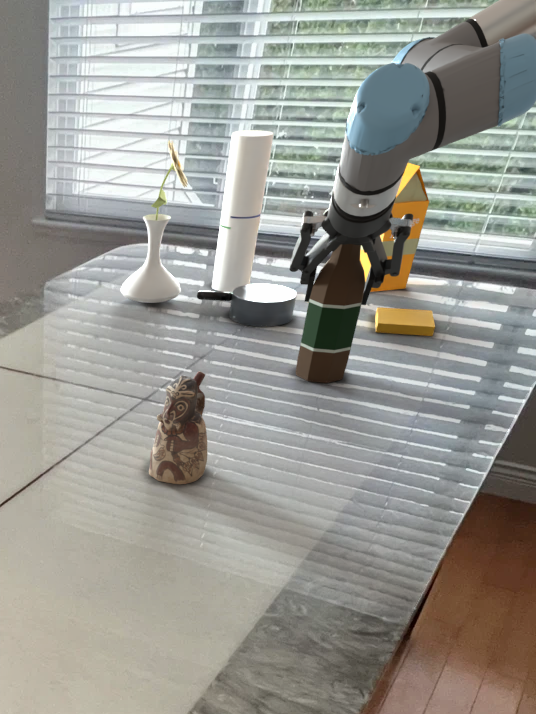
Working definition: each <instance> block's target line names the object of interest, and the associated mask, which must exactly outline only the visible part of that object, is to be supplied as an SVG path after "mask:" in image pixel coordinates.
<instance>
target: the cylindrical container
mask: <svg viewBox="0 0 536 714" xmlns="http://www.w3.org/2000/svg"><path fill="white" fill-rule="evenodd" d="M274 134H275V133H274V132H273V131H269V130H260V129H245V130H236V131H233V132H232V133H231V139H230V146H229V152H228V153H229V154H228V162H227V169H226V175H225V184H224V192H223V200H222V205H221V206H222V207H221V214H220V221H219V231H218V235H217V236H218V237H217V245H216V253H215V258H214V267H213V273H212V274H213V275H212V283H211V288H212V289H213V290H215V291H216V292H230V293H232V292H233V290H234V289H235V288H237V287H240V286H244V285H250V284H251V277H252V271H253V265H254V259H255V253H256V246H257V242H258V241H257V240H258V236H259V235H258V234H259V228H260V223H261V221H260V220H261V214H262V208H263V203H264V196H265V190H266V185H267V178H268V171H269V167H270V165H269V164H270V159H271V153H272V147H273V140H274Z"/></svg>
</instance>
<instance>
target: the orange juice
mask: <svg viewBox="0 0 536 714" xmlns="http://www.w3.org/2000/svg"><path fill="white" fill-rule="evenodd" d="M429 204H430V200H429V196H428V193H427V190H426V186H425V182H424V179H423V175H422V171H421V166H420V165H417V164H413V163H411V162H408V164H407V166H406V169H405V172H404V174H403V177H402V180H401V183H400V186H399V189H398V192H397V195H396V199H395V202H394V205H393V208H392V211H391V213H392V215H393V217H394V218H400V219H402V218H403V216H404V215H406V214H412V215H413V222H412V227H411V232H410V236H409V237H408V238H407V240H406V241H405V243H404V251H403V257H402V263H401V268H400V273H399V275H398V276H395V277H393V276H391V275H390V274H387V275H385V276H384V281H383V283H381V286H380V287H379V288H371V291H370V293H373V292H384V291H395V290H404V289H407V284H408V281H409V278H410V274H411V271H412V270H411V269H412V266H413V263H414V260H415V256H416V253H417V250H418V245H419V242H420V237H421V233H422V230H423V227H424V223H425V220H426V216H427V212H428V208H429ZM391 232H392V231H391V230H390V229H389V230H388V231H387V232H385V233H383V234H382V235H380V237H381V240H382V243H383V246H384V249H385V252H386V256H387V259H392V253H393V245H394V239H393V235H392V234H391ZM360 261H361V264H362V267H363V269H364V273H365V282H366V279H367V276H368V273H369V270H370V267H371V264H370V261H369V258H368V256H367V253H364V250H363V247H362V245H361V251H360Z"/></svg>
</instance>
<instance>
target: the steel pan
mask: <svg viewBox="0 0 536 714" xmlns="http://www.w3.org/2000/svg"><path fill="white" fill-rule="evenodd" d="M297 294H298V293H297V291H296V290H295V289H292V288H290V287H287V286H284V285H280V284H279V285H278V284H272V283H250V285H244V286H240V287H237V288H235V289H234V290H233V292H232V293H231V292H221V291H211V290H199V291H197V293H196V298H197V299H198V300H201V301H216V302H217V301H218V302H230V305H229V306H230V307H229V313H228V317H229V319H230V320H231V321H233V322H235V323H237V324H239V325H240V324H241V325H245V326H251V327H259V328H260V327H263V328H265V327H278V326H282V325H286V324H288V323H290V322H291V321H292V319H293V316H294V310H295V306H296V299H297Z"/></svg>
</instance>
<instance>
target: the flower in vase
mask: <svg viewBox="0 0 536 714" xmlns="http://www.w3.org/2000/svg"><path fill="white" fill-rule="evenodd" d="M167 148H168V152H169V155H170V159H171V164H170V167H169V168H168V171H167V172H166V174H165V177H164V178H163V181H162V183H161V185H160V188H159V192H158V198H157V199H156V200H155V201H154V202H153V203H152V204H151V205H150V207H152V208H154V209H156V212H155V213H150V214H146V215H144V216H142V220H143V221H144V223H145V226H146V229H147V240H148V243H147V255H146V259H145V261H144V263H143V265H142V266H140V267H139V269H137V270H136V271H135V272H133V273H132V274H131V275H130V276H129V277H128V278H126V280H125V281H124V282H123V283H122V285H121V287H120V289H119V291H120V293H121V295H122V296H123V297H124V298H126V299H128V300H130V301H133V302H137V303H144V304H158V303H164V302H168V301H171V300H173V299H175V298H177V297H178V296H179V295H180V294H181V292H182V288H181V284H180V283H179V281H178V280H177V279H176V278H175V277H174V276H173V275H172V274H171V273H170V272H169V271H168V270H167V269H166V267H164V265H163V264H162V260H161V246H162V240H163V235H164V232H165V229H166V226H168V225H167V224H168V223H169V222H170V220H171V219H172V216H170V215H168V214H163V213H159V209H160V207H162V206H166V205H167V204H168V199H167V195H166V192H165V190H164V189H163V188H164V185H165V183H166V181H167V179H168V177H169V175H170V174H171V171H174V172H175V173H176V175H177V179H178V180H179V183H181V185H182V187H183V188H188V186H189V184H188V178H187V176H186V174H185V173H184V170H185V169H184V166H183V164H182V163H181V162H180V160H179V159H180V158H179V157H180V156H179V152H178V150H177V149H175V148H176V147H175V144H174V141H173V140H170V139H169V140H168V141H167Z"/></svg>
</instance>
